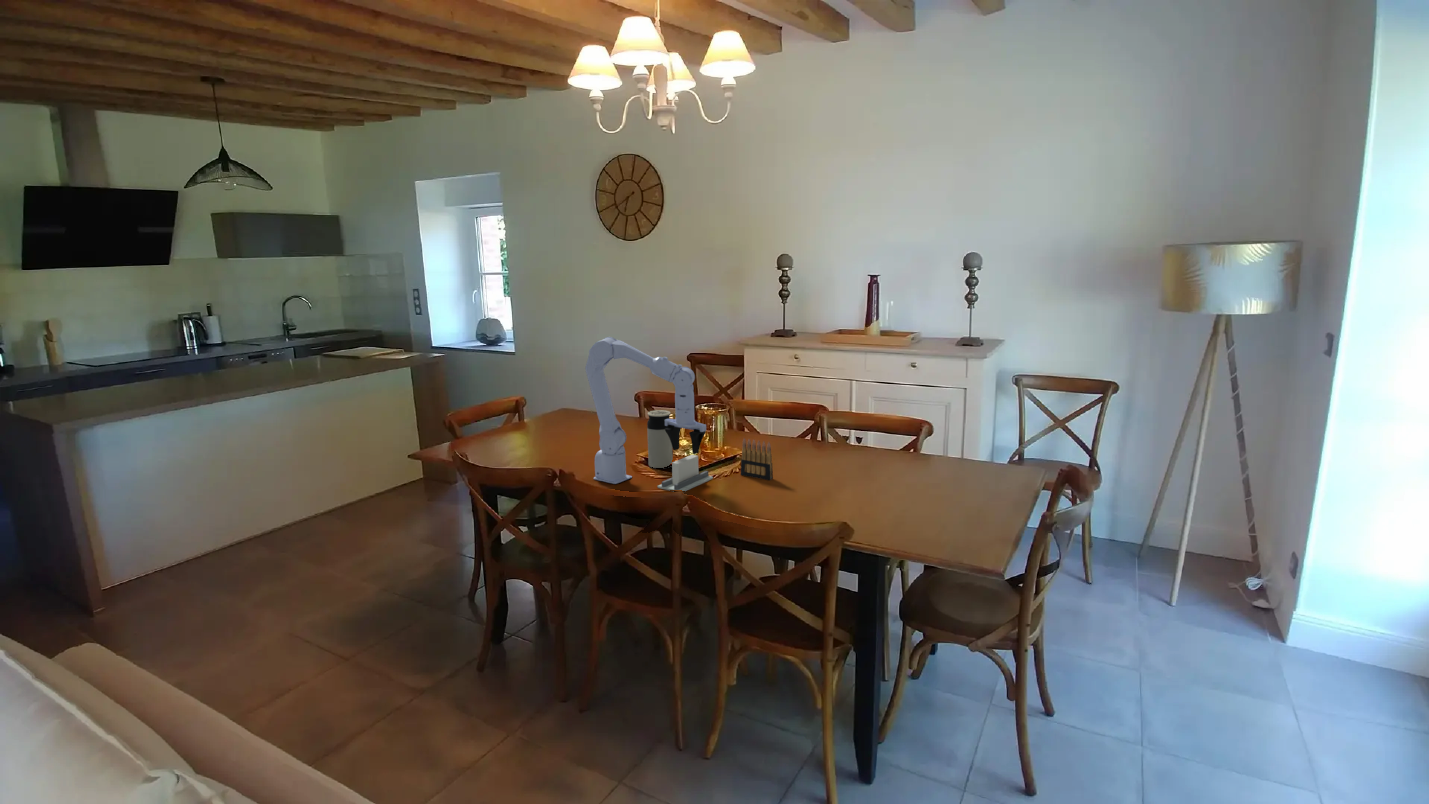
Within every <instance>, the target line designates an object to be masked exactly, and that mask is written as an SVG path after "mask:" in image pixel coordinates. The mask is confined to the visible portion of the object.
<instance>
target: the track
mask: <svg viewBox="0 0 1429 804" xmlns="http://www.w3.org/2000/svg"><path fill="white" fill-rule="evenodd" d="M713 479H714V477H713V476H711V475H709V470H704V471H702V472H699V474H698V475H695V476H693V477H691V478H688V479H686V480H684V481H682V482H679V483H677V484H675V485H673V482H672V477H670V478H667V479H666V480H663V481H661V484H659V485H658V484H657V489H662V490H664V491H665V490H666V491H670V490H682V491H685V492H686V491H689V490H691V489H693V488H695V487H698V486H700V485H703V484H705V483H706V482H709V481H710V480H713Z"/></svg>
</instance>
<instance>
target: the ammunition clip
mask: <svg viewBox="0 0 1429 804" xmlns="http://www.w3.org/2000/svg"><path fill="white" fill-rule="evenodd" d="M756 443H757V444H756ZM761 445H762V446H761ZM741 449H742V450H741V461H740V476H743V475H744V477H749V478H750V477H751V478H753V479H754V478H755V479H760V480H765V481H772V480H773V478H774V474H773V471H774V470H773V462H772V447H771V443H770V441H768V442H767V445H766V443H765V440H763V441H762V444H761V441H760V440H757V442H756V440H755V439H752V443H751V439H750V438H748V440H746V438H745V437H743V440H742V447H741Z"/></svg>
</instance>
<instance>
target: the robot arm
mask: <svg viewBox="0 0 1429 804" xmlns="http://www.w3.org/2000/svg"><path fill="white" fill-rule="evenodd" d="M624 358H625V359H628V360H630V361H631V362H635V363H637V364H640V365H642V366H643V367H647V368H649V370H650V372H651V374H652V375H654V376H656V377H658V378H660V379H662V380H664V381H666V382H669V383H672V384H673V385H674V388H675V389H674V390H675V391H674V392H675V393H674V403H675V404H674V406H675V408H674V410H675V413H674V414H675V418H670V419H666V420H665V426H668V427H667V428H665V431H666V433H667V434H668V436H669V438H670V441H671V444H672V451H676V450H679V449H680V436H681V435H680V434H681V429H687V430H690V432H688V434H689V436H690V441H691V452H692V455H696V454H699V453H700V447H701V444H702V441H703V439H704V436H705V434H706V432H707V424H706V423H705V424H704V423H701V422H698V421H696V419H695V392H694V388H695V387H694V384H693V383H694V381H695V379H696V375H695V373H694V371H693V370H692V369H691V368H690V367H689V366H683V364H680V363H679V364H677V363H675V362H673V361H671V360H669V357H667V356H663V357H662V356H657V357H653V356H651V355H649V354H647V353H645V352H644V351H641V350H640V349H638V348H636V347H634V346H633V345H631V344H629V343H626V342H625V341H623V340H620V339H616V338H614V337H612V336H607V337H604V338H603V339H601V340H598V341H596V342H594V343H593V345H592V346H591V347H590V348H589V350H588V357H587V361H586V363H585V368H584V369H585V373H586V377H587V381H588V385H589V387H590V392H591V396H592V398H593V402H594V403H593V404H594V407H595V410H596V415H597V418H598V421H599V431H598V434H599V441H598V443H599V444H598V446H599V449H600V450H598V451H597V452H596V454H595V455H594V474H595V475H594V477H593V480H595V481H600V482H604V483H608V484H613V485H617V484H619V483H622V482H624V481H627V480H629V479H632V478H633V476H632V475H629V474H627V465H626V463H627V462H626V449H625V447H624V444H625V443H626V441H627V433H626V432H625V430H624V429H622V426H621V423H620V421H619V420H618V419H617V416H616V413H615V409H614V406H613V402H612V398H611V394H610V391H609V387H608V383H607V379H606V375H605V372H604V371H605V368H606V367H607V366H608V364H609V363H610V362H611V361H612V359H613V360H619V359H624ZM691 430H692V431H691Z"/></svg>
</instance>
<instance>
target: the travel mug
mask: <svg viewBox="0 0 1429 804" xmlns="http://www.w3.org/2000/svg"><path fill="white" fill-rule="evenodd" d="M671 414H672V413H671V411H669V410H665V409H664V410H661V409H659V410H658V409H657V410H650V411H648V412H647V416H648V420H647V424H646V427H647V453H648V455H647V457H648V466H649V467H650V468H652V467H653V468H652V469H656V468H663V469H665V468H664V467H667V466H669V465H670V464H671V463H672V460H673V455H674V454H673V447H672V444H671V441H670V438H669V436H668V434H667V433H666V431H665V428H667V427H668V426H665V420H666V419H671V418H670V415H671Z"/></svg>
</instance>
